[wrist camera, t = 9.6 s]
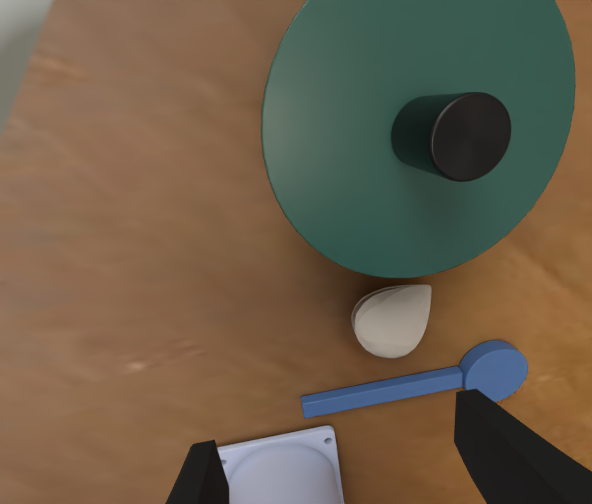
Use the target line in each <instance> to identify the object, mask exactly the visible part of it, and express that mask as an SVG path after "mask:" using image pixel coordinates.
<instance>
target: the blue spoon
mask: <svg viewBox="0 0 592 504" xmlns="http://www.w3.org/2000/svg"><path fill="white" fill-rule="evenodd" d="M527 372H528V364H527V361H526V359H525V357H524V356H523V355H522V354H521V353H520V352H519V351H518V350H517V349H516V348H515V347H514V346H512V345H511V344H509V343H507V342H505V341H500V340H493V341H487V342H484V343H481V344H479V345H477V346H476V347H474V348H473V349H471V350H470V351H469V352H468V353H467V354H466V355H465V356H464V358H463V359H462V361H461V362H460V365H459V367H458V366H454V367H449V368H444V369H439V370H434V371H429V372H424V373H419V374H414V375H408V376H403V377H398V378H393V379H388V380H383V381H378V382H373V383H368V384H363V385H357V386H352V387H347V388H342V389H337V390H332V391H327V392H322V393H317V394H312V395H306V396H302V397H301V402H302V408H303V414H304V418H309V417H314V416H319V415H324V414H329V413H334V412H339V411H344V410H349V409H354V408H359V407H364V406H369V405H374V404H379V403H384V402H389V401H394V400H399V399H404V398H409V397H414V396H419V395H424V394H429V393H434V392H439V391H444V390H449V389H454V388H459V387H463V388H464V389H465V390H470V389H475V388H476V389H478V390H479V391H480V392H482V393H483V394H484V395H486V396H487V397H488V398H490V399H491V400H492V401H494V402H495V401H499V400H502V399H504V398H506V397H508V396H510V395H511V394H513V393H514V392H515V391H516V390H517V389H518V388H519V387H520V386H521V385H522V384H523V382H524V380H525V378H526V376H527Z"/></svg>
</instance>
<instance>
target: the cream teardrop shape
mask: <svg viewBox="0 0 592 504" xmlns="http://www.w3.org/2000/svg"><path fill="white" fill-rule="evenodd" d="M431 292H432V289H431V286H430V285H399V286H392V287H386V288H382V289H379V290H377V291H374V292H372V293H370V294H368V295H366V296H364V297H363V298H362V299H361V300H360V301H359V302H358V303H357V304H356V305H355V307H354V310H353V312H352V315H351V323H352V327H353V330H354V332H355V334H356V336H357V338H358V341H359V342H360V343H361V345H362V346H363V347H364V348H365V349H366V350H367V351H369V352H371V353H372V354H374V355H376V356H381V357H386V358H397V357H401V356H405V355H407V354H408V353H409V352H411V351H412V350H413V349H415V348H416V346H417V345H418V343H419V342H420V340H421V338H422V336H423V334H424V332H425V329H426V326H427V322H428V318H429V312H430V304H431Z"/></svg>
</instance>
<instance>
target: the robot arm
mask: <svg viewBox="0 0 592 504" xmlns="http://www.w3.org/2000/svg"><path fill="white" fill-rule="evenodd" d="M327 438H329V439H327ZM454 442H455V445H456V447H457V449H458V451H459V453H460V455H461V457H462V460H463V462H464V464H465V466H466V468H467V470H468V472H469V474H470V476H471V478H472V479H473V481H474V483H475V485H476V486H477V488H478V489H479V491H480V493H481V494H482V496H483V498H484V499H485V501H486V503H487V504H592V472H591V471H590V470H588V469H587V468H585V467H584V466H582V465H581V464H579V463H578V462H576V461H575V460H573V459H572V458H570V457H569V456H567V455H566V454H564V453H563V452H562V451H560V450H559V449H557V448H556V447H555V446H553V445H552V444H550V443H549V442H548V441H546V440H545V439H543V438H542V437H540V436H539V435H538V434H536V433H535V432H534V431H532V430H531V429H529V428H528V427H527V426H525V425H524V424H523V423H521V422H520V421H519V420H517V419H516V418H515V417H513V416H512V415H511V414H509V413H508V412H507V411H505V410H504V409H503V408H501V407H500V406H499V405H498V404H496V403H495V402H494V401H492V400H491V399H490V398H488V397H487V396H486V395H484V394H483V393H482V392H480V391H479V390H478V389H476V388H475V389H470V390H465V391H460V392H456V410H455V431H454ZM165 504H344V499H343V491H342V484H341V476H340V469H339V461H338V454H337V446H336V439H335V432H334V429H333V427H331V426H329V425H327V426H321V427H316V428H311V429H306V430H301V431H296V432H291V433H286V434H281V435H276V436H272V437H267V438H262V439H257V440H252V441H247V442H242V443H237V444H232V445H227V446H222V447H218V448H217V446H216V443H215V440H211V441H206V442H201V443H196V444H193V445H192V446H191V448H190V450H189V452H188V455H187V457H186V459H185V462H184V464H183V466H182V469H181V471H180V473H179V476H178V478H177V480H176V482H175V484H174V487H173V489H172V491H171V493H170V495H169V497H168V499H167V501H166V503H165Z"/></svg>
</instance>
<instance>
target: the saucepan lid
mask: <svg viewBox="0 0 592 504" xmlns="http://www.w3.org/2000/svg"><path fill="white" fill-rule="evenodd" d="M575 88H576V85H575V63H574V57H573V51H572V45H571V41H570V37H569V34H568V31H567V27H566V24H565V21H564V19H563V17H562V15H561V12H560V10H559V8H558V6H557V4H556V2H555V0H307V1H306V2H305V4H304V5H303V6H302V8H301V9H300V10H299V12H298V13H297V14H296V16H295V17H294V19H293V21H292V23H291V24H290V26H289V28H288V30H287V31H286V33H285V35H284V37H283V38H282V40H281V43H280V45H279V47H278V50H277V52H276V55H275V57H274V59H273V62H272V64H271V68H270V71H269V75H268V79H267V82H266V86H265V91H264V98H263V104H262V111H261V139H262V149H263V157H264V162H265V166H266V170H267V174H268V178H269V181H270V184H271V186H272V189H273V192H274V194H275V197H276V199H277V201H278V203H279V205H280V207H281V209H282V210H283V212H284V214H285V216H286V217H287V219H288V220H289V221H290V223H291V224H292V226H293V227H294V228H295V230H296V231H297V232H298V233H299V234H300V235H301V236H302V237H303V238H304V239H305V240H306V242H307V243H308V244H309V245H311V246H312V247H313V248H314V249H316V250H317V251H318V252H319V253H321V254H322V255H323V256H325V257H327V258H328V259H330V260H332V261H333V262H335V263H337V264H339V265H341V266H343V267H346V268H348V269H350V270H353V271H356V272H359V273H363V274H367V275H371V276H377V277H385V278H412V277H420V276H426V275H430V274H434V273H439V272H442V271H445V270H448V269H450V268H453V267H456V266H459V265H461V264H463V263H465V262H467V261H469V260H471V259H473V258H475V257H476V256H478V255H479V254H481V253H483V252H484V251H486V250H487V249H489V248H491V247H492V246H493V245H494V244H496V243H497V242H498V241H499V240H501V239H502V238H503V237H505V236H506V235H507V234H508V233H509V232H510V231H511V230H512V229H513V228H514V227H515V226H516V225H517V224H518V223H519V222H520V221H521V220H522V219H523V218H524V216H525V215H526V214H527V213H528V212H529V211H530V209H531V208H532V207H533V206H534V204H535V203H536V201H537V200H538V198H539V197H540V196H541V194H542V193H543V191H544V190H545V188H546V186H547V184H548V183H549V181H550V179H551V177H552V175H553V173H554V172H555V170H556V167H557V165H558V162H559V160H560V158H561V155H562V153H563V150H564V147H565V144H566V141H567V137H568V134H569V131H570V126H571V121H572V116H573V111H574V100H575Z"/></svg>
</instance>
